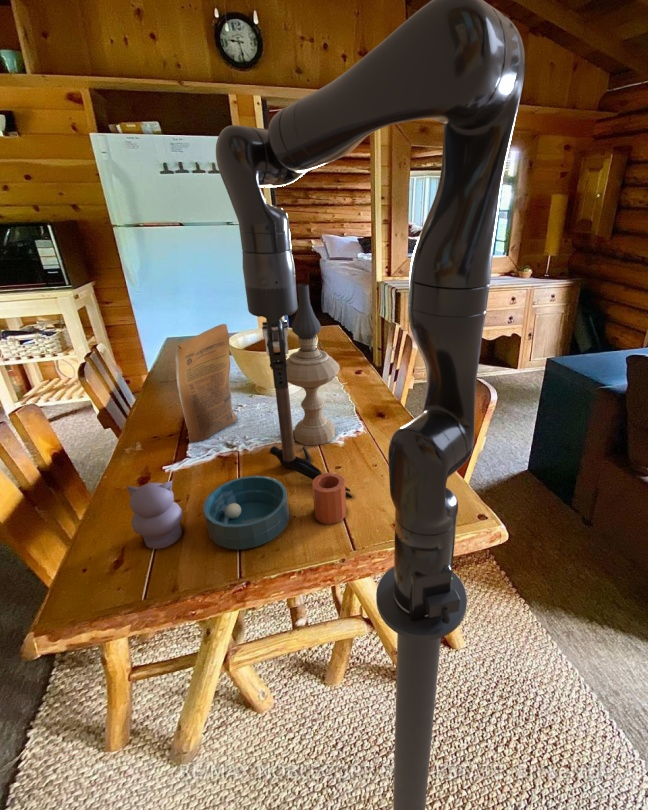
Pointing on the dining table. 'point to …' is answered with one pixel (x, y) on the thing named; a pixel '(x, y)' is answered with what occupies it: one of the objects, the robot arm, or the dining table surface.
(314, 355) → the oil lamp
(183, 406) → the pancake mix bag
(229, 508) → the ball
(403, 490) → the robot arm
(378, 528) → the dining table surface
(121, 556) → the dining table surface
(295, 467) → the black elongated part
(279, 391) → the stick
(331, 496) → the holder
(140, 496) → the cat figurine
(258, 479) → the bowl
